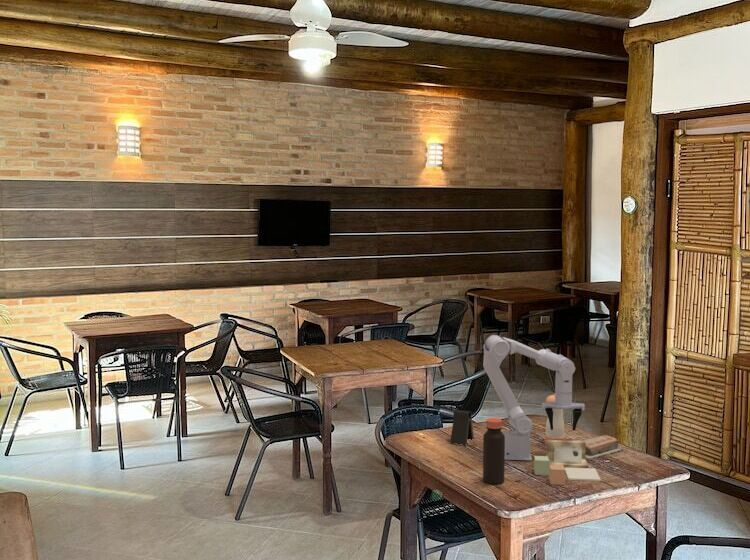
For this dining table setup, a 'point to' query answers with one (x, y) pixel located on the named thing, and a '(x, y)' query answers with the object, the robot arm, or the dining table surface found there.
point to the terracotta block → (557, 474)
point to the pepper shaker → (555, 423)
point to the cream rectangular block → (567, 453)
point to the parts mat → (582, 474)
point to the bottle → (493, 452)
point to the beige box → (567, 465)
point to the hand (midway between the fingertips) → (562, 429)
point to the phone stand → (462, 427)
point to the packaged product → (601, 446)
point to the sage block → (541, 465)
